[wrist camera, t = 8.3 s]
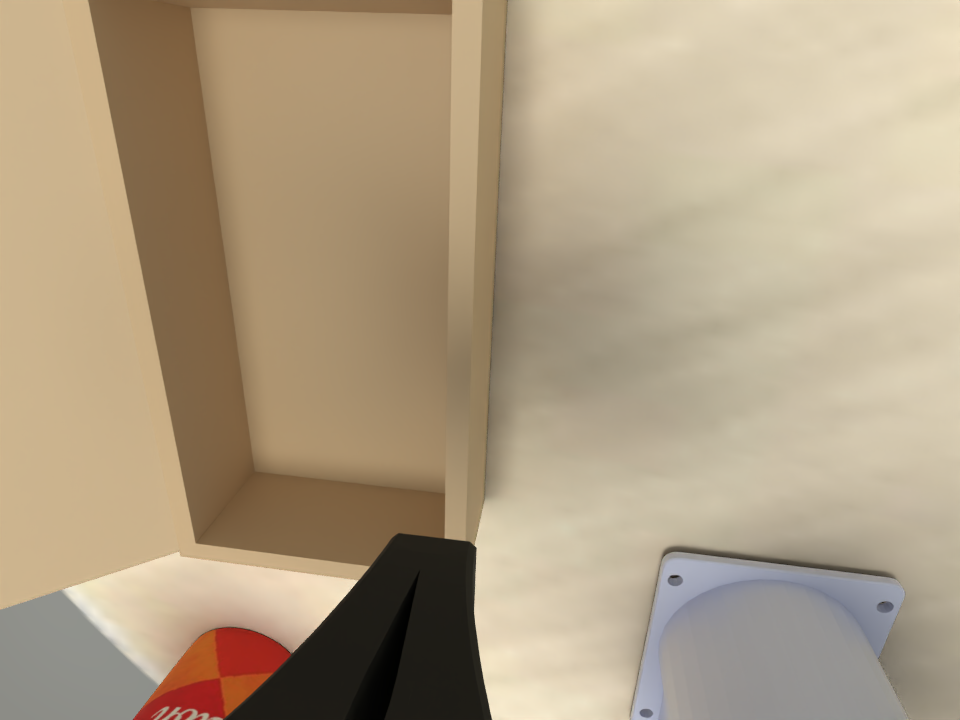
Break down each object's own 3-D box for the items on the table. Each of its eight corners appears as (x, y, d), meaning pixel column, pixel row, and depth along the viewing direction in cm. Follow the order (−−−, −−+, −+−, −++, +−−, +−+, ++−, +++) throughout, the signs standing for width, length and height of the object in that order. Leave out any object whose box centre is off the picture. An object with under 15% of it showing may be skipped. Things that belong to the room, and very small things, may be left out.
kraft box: (484, 501, 23) (463, 594, 18) (248, 473, 24) (180, 556, 19) (507, -8, 16) (484, -39, 12) (178, -16, 17) (51, -47, 13)
